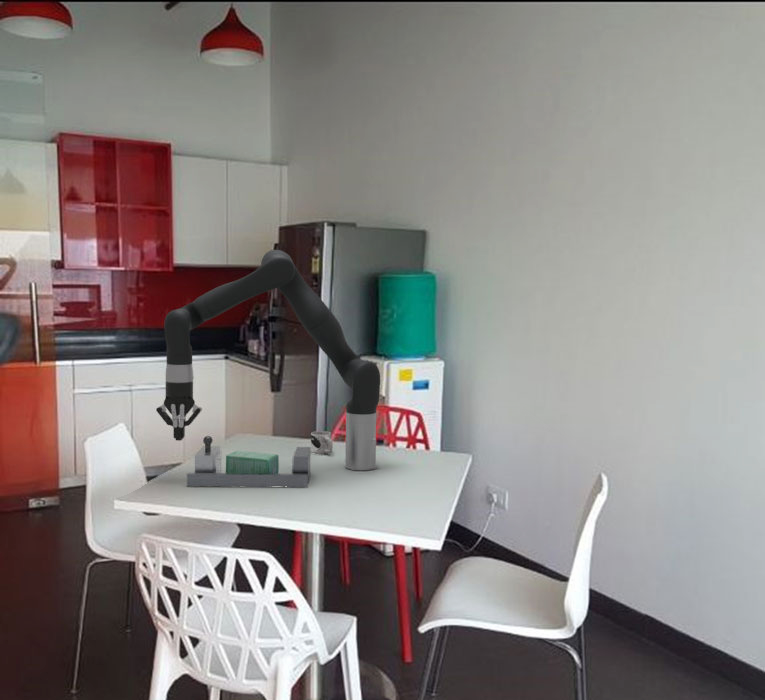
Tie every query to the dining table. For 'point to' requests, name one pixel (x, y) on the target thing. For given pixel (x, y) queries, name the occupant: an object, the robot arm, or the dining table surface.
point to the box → (252, 462)
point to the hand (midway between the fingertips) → (179, 439)
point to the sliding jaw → (208, 458)
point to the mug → (321, 442)
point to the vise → (259, 475)
